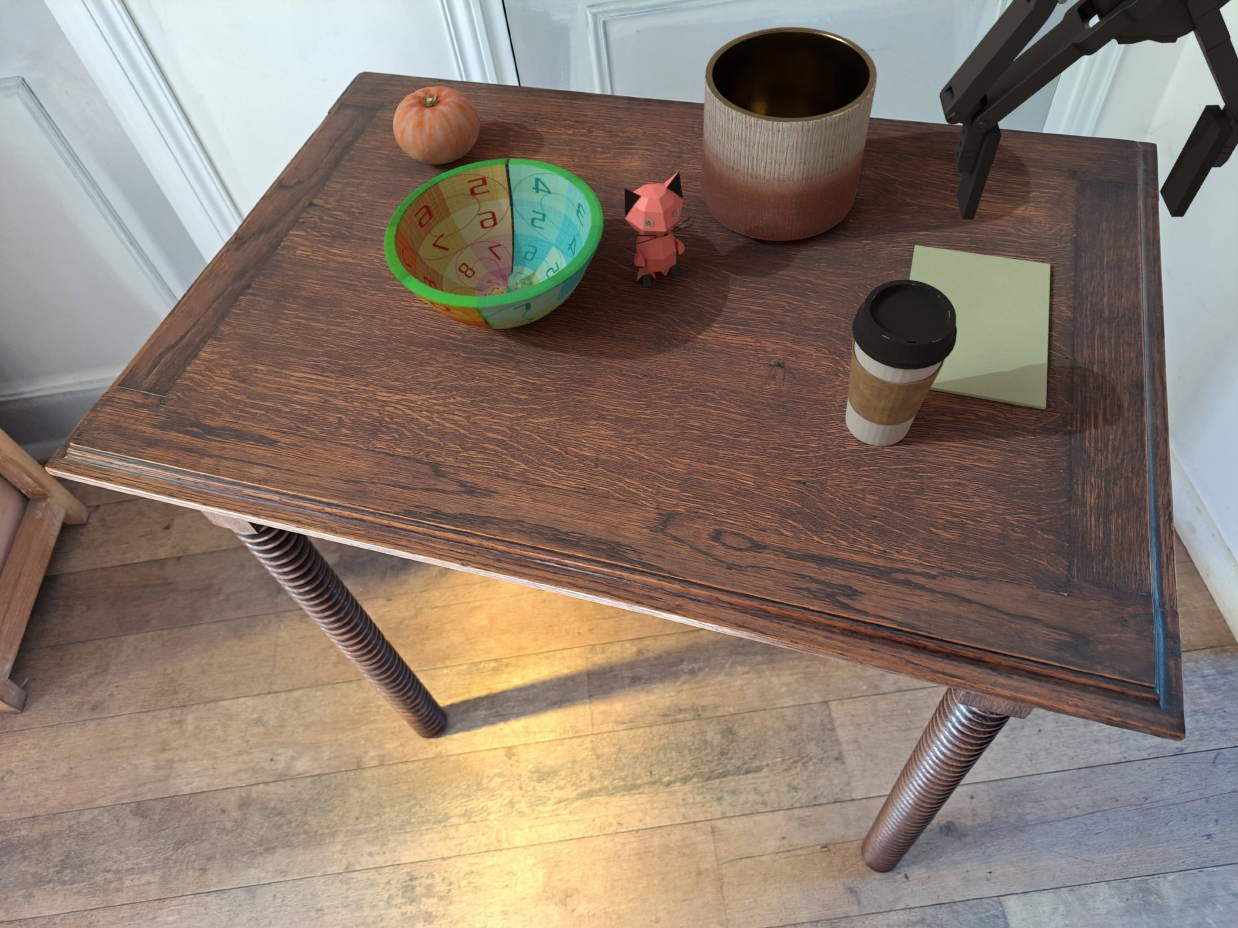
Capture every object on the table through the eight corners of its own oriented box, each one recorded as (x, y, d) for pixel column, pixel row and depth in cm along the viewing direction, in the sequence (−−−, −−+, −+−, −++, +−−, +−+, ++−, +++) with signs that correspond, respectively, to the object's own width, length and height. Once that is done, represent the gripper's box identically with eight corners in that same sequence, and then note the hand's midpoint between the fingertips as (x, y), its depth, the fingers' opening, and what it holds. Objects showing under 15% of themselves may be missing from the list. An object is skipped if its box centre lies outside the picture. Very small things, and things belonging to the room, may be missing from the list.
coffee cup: (830, 453, 80) (856, 343, 67) (833, 383, 84) (857, 269, 72) (924, 462, 78) (967, 352, 66) (921, 391, 83) (961, 275, 71)
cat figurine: (638, 299, 93) (632, 210, 83) (615, 260, 96) (606, 170, 87) (697, 279, 94) (698, 189, 84) (672, 242, 98) (670, 150, 88)
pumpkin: (478, 178, 107) (465, 121, 100) (394, 180, 108) (375, 123, 101) (491, 126, 113) (479, 69, 106) (411, 128, 114) (394, 71, 107)
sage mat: (1044, 409, 81) (1046, 407, 80) (893, 383, 84) (893, 380, 83) (1049, 266, 91) (1050, 263, 91) (914, 247, 94) (915, 245, 94)
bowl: (583, 388, 86) (572, 317, 78) (379, 360, 90) (348, 291, 82) (630, 240, 98) (625, 165, 90) (448, 221, 102) (427, 149, 94)
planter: (688, 239, 98) (688, 115, 85) (715, 145, 107) (719, 20, 94) (847, 256, 94) (872, 130, 81) (860, 157, 104) (884, 30, 91)
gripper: (1465, -198, 42) (1240, 168, 60) (947, -171, 45) (875, 174, 62) (1550, -135, 38) (1281, 240, 55) (971, -108, 40) (887, 244, 58)
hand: (1066, 206), depth 59 cm, fingers open, 13 cm apart
